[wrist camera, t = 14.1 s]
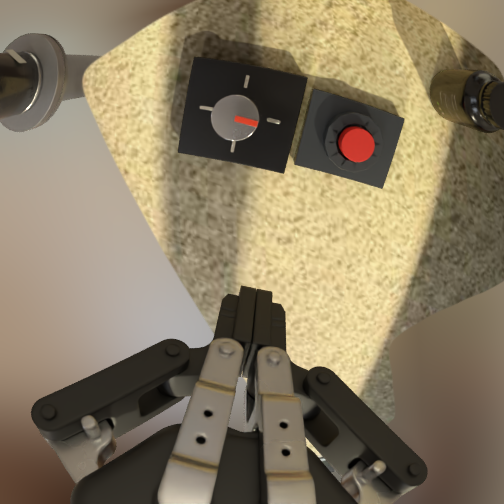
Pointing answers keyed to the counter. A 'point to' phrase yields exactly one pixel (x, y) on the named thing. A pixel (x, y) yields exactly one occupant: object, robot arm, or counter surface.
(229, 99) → the stove knob
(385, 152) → the button housing
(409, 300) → the counter surface
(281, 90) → the stove panel
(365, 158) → the power button
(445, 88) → the supplement bottle
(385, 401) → the counter surface
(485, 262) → the counter surface
